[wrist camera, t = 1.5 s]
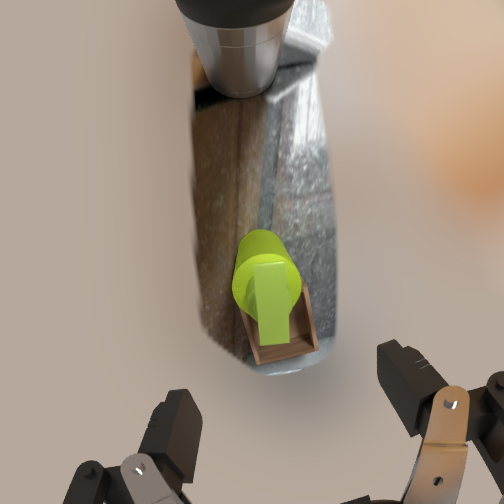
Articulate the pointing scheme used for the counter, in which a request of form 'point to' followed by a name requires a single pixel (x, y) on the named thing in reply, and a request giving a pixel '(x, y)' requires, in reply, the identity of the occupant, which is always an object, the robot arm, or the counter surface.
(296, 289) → the soap dispenser
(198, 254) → the counter surface
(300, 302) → the walnut caddy
